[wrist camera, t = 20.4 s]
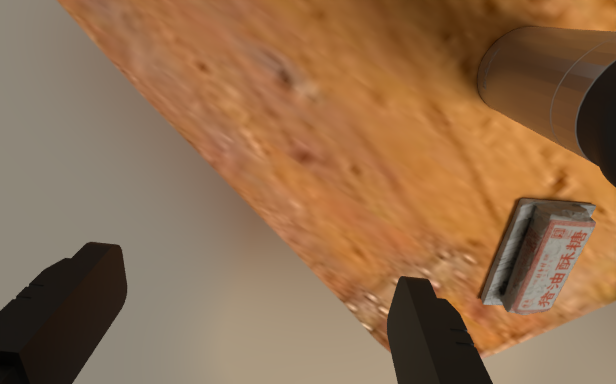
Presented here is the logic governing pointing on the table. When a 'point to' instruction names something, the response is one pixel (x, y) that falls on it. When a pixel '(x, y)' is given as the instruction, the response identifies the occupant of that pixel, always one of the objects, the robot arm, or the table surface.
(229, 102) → the table surface
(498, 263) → the packaged product
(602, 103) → the robot arm
